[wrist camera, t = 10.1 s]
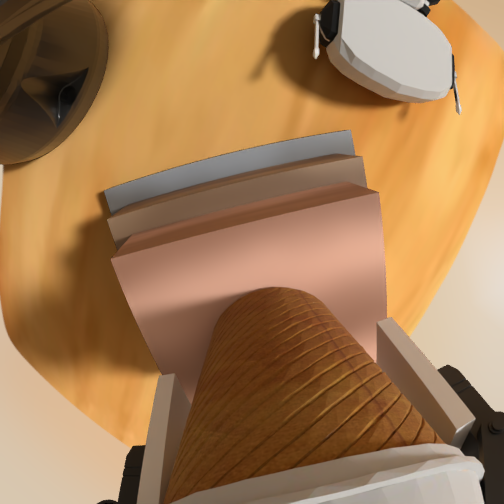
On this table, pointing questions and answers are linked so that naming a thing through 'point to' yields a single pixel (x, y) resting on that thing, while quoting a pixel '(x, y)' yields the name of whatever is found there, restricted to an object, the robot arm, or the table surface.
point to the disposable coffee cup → (307, 419)
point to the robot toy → (388, 48)
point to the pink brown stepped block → (248, 243)
